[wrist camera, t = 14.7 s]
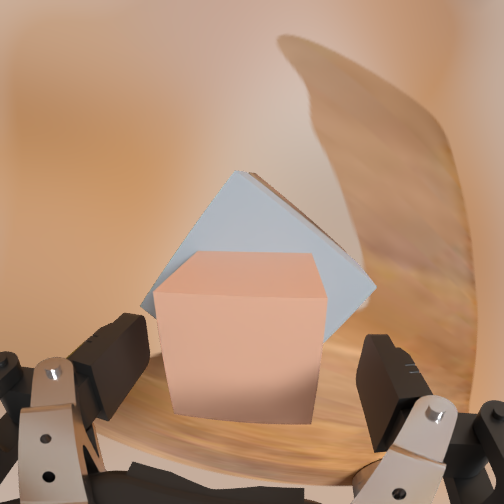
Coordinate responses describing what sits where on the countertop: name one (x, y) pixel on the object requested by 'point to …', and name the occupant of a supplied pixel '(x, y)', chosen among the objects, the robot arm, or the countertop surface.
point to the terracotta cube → (243, 336)
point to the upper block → (271, 244)
